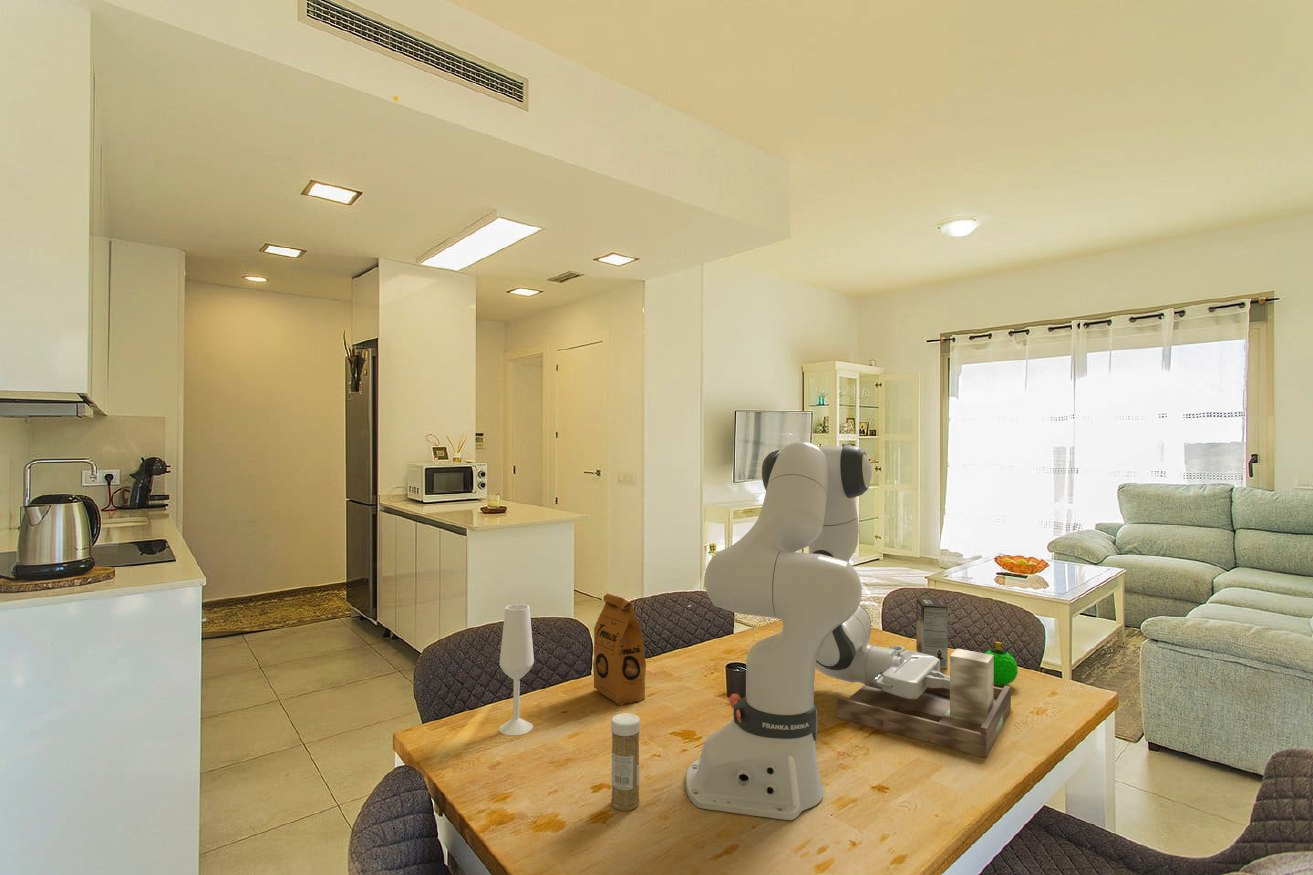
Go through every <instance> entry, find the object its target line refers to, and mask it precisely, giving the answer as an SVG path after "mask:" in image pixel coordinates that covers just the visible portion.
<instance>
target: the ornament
mask: <svg viewBox="0 0 1313 875" xmlns="http://www.w3.org/2000/svg"><path fill="white" fill-rule="evenodd" d="M1002 644H1003V643H1002V642H1001V641H995V648H991V649H990V650H988V651H986V652H984V653H985V654H990V655H994V659H993V685H996V686H1008V685H1009V684H1010V683H1012V682H1014V680H1015V679H1017V675H1018V673H1019V672H1018V669H1019V668H1018V665H1017V664H1018V663H1017V661H1016V660H1015V658H1014V657H1013V656H1012V655H1011V653H1008V652H1007V651H1006V650H1004V649H1003V648H1002Z"/></svg>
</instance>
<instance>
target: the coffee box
mask: <svg viewBox="0 0 1313 875" xmlns="http://www.w3.org/2000/svg"><path fill="white" fill-rule="evenodd" d="M915 622H916V632H915V634H916V649H915V652H919V653H923V654H927V655H931V656H934V657H936V658H938V659H940V669H943V668H946V669H948V656H949V655H948V654H949V653H948V638H949V636H948V635H949V634H948V633H949V632H948V631H949V607H948V605H946V602H944V601H943V600H942V599H941V598H934V597H933V598H932V597H916V621H915ZM946 669H945V670H946Z"/></svg>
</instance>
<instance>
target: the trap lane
mask: <svg viewBox="0 0 1313 875" xmlns="http://www.w3.org/2000/svg"><path fill="white" fill-rule="evenodd" d="M1003 686H1004V687H1003V688H1002V687H997V686H993V707H992V709H991V710H990V712H989V714H988V716H987V717H986V719H985V721H984V722H979V721H975V720H970V719H966V718H962V717H958V716H954V715H950V689H946V688H930V687H927V688H926V690H925V691H924V692H923V693H922V694H921V695H920V696H919V697H918V698H917V699H907V698H903V697H900V696H896V695H893V694H890V693H887V692H885V691H884V690H882V689H878V688H873V687H869V686H867V685H865V684H863V686H862V687H861V688H859V689H858V690H857V691H855V693H853V694H852V695H851V696H850V697H849V698H843V697H840V696H839V697H837V700H836V701H837V713H836V714H837V716H836V717H837V718H838V719H841V720H845V721H849V722H852V723H855V724H859V725H862V726H867V727H871V728H874V729H878V730H882V731H885V732H888V733H893V734H897V735H899V736H904V737H907V738H910V739H915V740H919V741H923V742H925V743H926V742H927V743H929V744H933V745H937V746H940V747H944V748H949V749H952V750H955V751H960V752H964V753H967V754H970V755H974V756H977V757H982V758H987V757H988V754H989V753H990V751H991V748H992V746H993V745H994V743H995V742H996V741H995V740H996V738H997V737H998V734H999V733H1000V730H1001V729H1002V727H1003V725H1004V723H1005V721H1006V719H1007V717H1008V715H1009V713H1010V711H1011V708H1012V706H1011V705H1012V704H1011V703H1012V702H1011V701H1012V700H1011V699H1012V698H1011V696H1012V694H1011V693H1012V692H1011V691H1012V690H1011V686H1008V685H1003Z"/></svg>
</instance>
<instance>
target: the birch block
mask: <svg viewBox="0 0 1313 875" xmlns="http://www.w3.org/2000/svg"><path fill="white" fill-rule="evenodd" d="M985 653H986V652H978V651H973V650H972V651H971V650H966V649H961V648H956V649H954V651H953V652H951V654H950V655H949V676H950V715H954V716H958V717H962V718H966V719H970V720H975V721H979V722H984V721H985V719H986V717H987V716H988V714H989V712H990V710H991V709H992V707H993V687H994V684H993V659H994V655H990V654H985Z"/></svg>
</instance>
